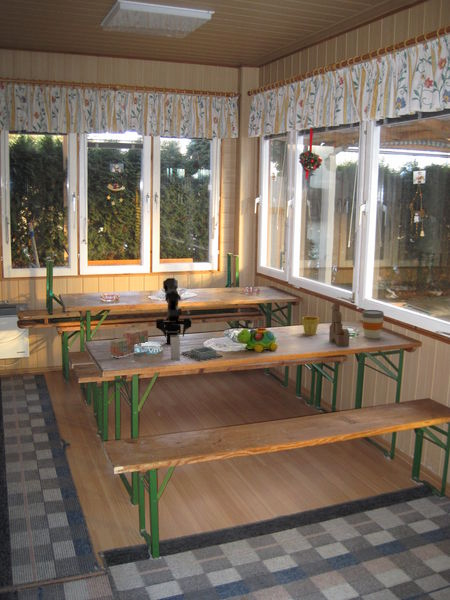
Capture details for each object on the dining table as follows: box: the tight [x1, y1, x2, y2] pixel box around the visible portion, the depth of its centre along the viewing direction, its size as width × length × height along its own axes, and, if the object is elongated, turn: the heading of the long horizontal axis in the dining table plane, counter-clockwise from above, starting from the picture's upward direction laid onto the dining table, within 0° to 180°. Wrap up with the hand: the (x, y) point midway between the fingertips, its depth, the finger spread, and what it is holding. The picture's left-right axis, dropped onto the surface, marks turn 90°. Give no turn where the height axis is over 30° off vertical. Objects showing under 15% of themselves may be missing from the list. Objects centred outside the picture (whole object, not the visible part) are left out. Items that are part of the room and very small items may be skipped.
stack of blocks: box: [110, 328, 149, 357], centre depth 341 cm, size 21×6×12 cm, turn 140°
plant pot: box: [301, 315, 320, 336], centre depth 386 cm, size 10×10×10 cm
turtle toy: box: [236, 327, 278, 353], centre depth 351 cm, size 17×23×12 cm
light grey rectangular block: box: [170, 334, 181, 361], centre depth 331 cm, size 4×4×12 cm
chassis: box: [181, 346, 223, 361], centre depth 339 cm, size 18×14×4 cm
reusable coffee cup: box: [361, 309, 385, 339], centre depth 378 cm, size 13×13×15 cm
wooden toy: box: [328, 300, 350, 348], centre depth 362 cm, size 16×7×25 cm, turn 13°
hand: (174, 336), depth 334 cm, fingers open, 9 cm apart
